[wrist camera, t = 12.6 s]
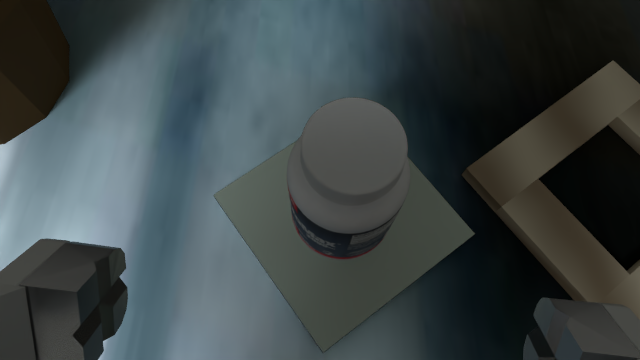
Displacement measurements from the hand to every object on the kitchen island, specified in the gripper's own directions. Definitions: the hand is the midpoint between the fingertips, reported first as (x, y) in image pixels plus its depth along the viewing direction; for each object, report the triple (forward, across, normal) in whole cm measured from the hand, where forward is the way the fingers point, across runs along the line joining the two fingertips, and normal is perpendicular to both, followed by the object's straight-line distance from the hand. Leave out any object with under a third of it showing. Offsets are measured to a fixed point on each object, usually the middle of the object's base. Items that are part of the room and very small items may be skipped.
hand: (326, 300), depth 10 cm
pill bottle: (+16, +1, -6) cm, 17 cm away
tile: (+16, +1, -6) cm, 17 cm away
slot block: (+18, +16, -4) cm, 24 cm away
